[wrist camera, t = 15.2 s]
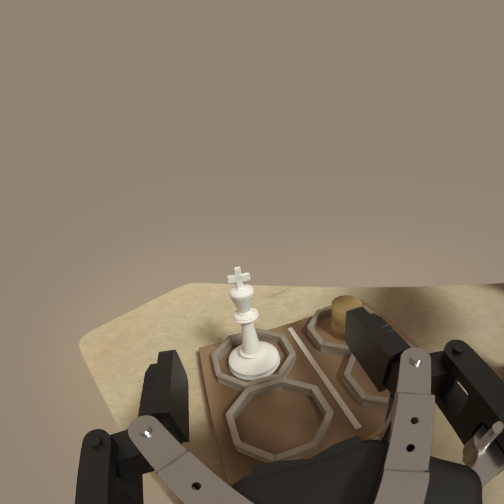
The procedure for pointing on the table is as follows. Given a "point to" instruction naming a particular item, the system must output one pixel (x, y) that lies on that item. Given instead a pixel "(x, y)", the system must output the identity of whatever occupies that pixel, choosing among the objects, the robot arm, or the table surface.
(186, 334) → the table surface
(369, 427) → the brown octagon slot tray
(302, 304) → the table surface
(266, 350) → the chess piece
